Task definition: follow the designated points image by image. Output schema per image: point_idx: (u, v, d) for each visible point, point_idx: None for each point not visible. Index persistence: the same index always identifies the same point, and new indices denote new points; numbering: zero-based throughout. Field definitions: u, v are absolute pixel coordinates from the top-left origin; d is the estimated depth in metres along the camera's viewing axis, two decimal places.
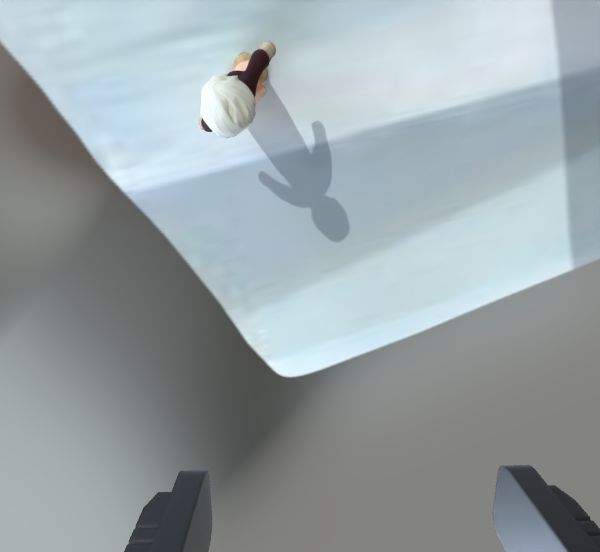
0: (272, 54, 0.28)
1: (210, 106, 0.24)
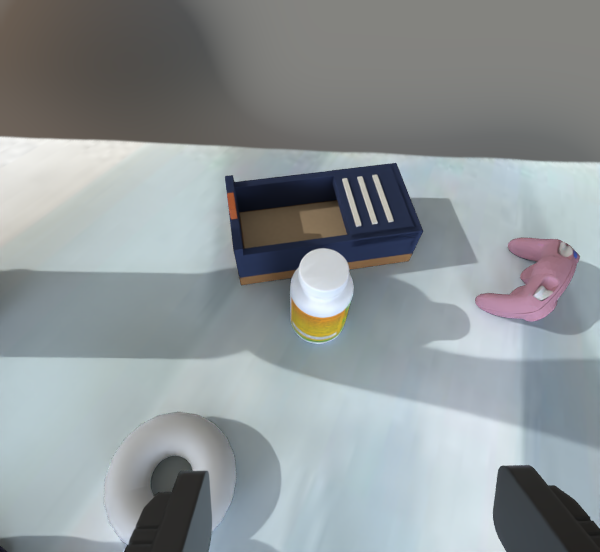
0: None
1: None
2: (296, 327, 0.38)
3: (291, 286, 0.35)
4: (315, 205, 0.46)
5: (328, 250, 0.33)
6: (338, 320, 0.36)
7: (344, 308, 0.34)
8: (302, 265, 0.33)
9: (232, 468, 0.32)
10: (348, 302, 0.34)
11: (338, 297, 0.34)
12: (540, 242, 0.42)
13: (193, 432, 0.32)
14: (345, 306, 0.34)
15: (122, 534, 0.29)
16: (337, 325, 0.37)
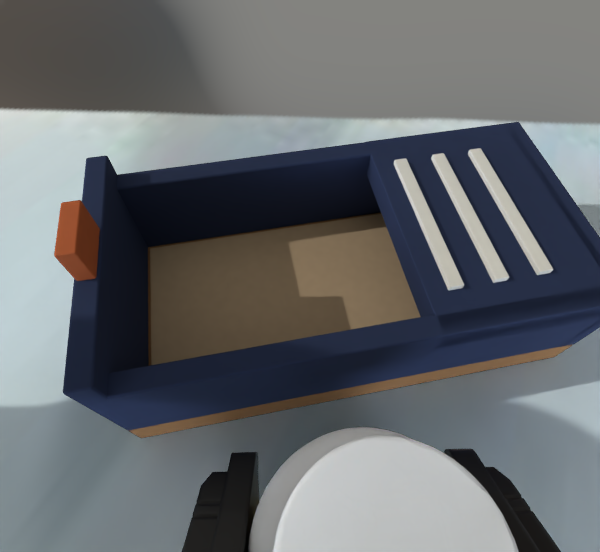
0: None
1: None
2: None
3: None
4: (326, 227, 0.20)
5: (407, 449, 0.07)
6: None
7: None
8: (290, 550, 0.07)
9: None
10: None
11: None
12: None
13: None
14: None
15: None
16: None
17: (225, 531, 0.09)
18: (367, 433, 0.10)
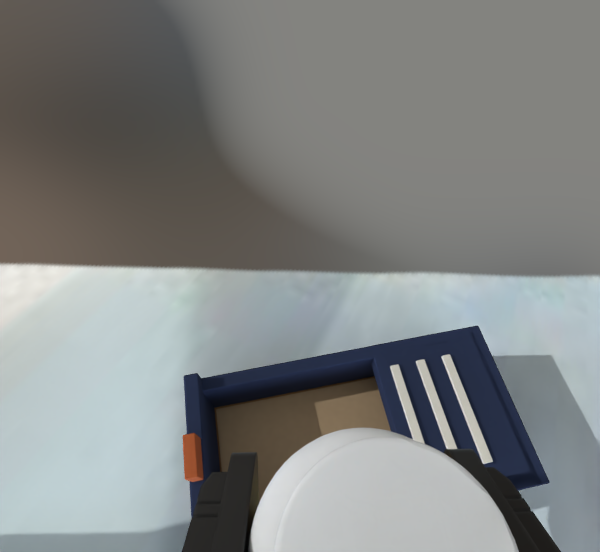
0: None
1: None
2: None
3: None
4: (341, 388, 0.28)
5: (407, 449, 0.07)
6: None
7: None
8: (290, 551, 0.07)
9: None
10: None
11: None
12: None
13: None
14: None
15: None
16: None
17: (225, 531, 0.09)
18: (367, 433, 0.10)
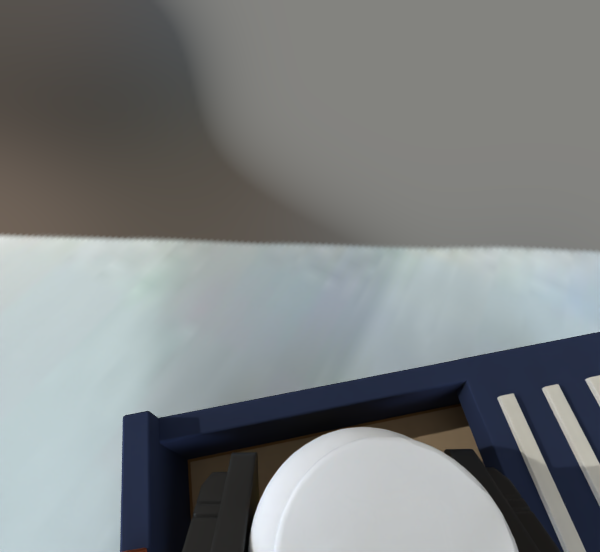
0: None
1: None
2: None
3: None
4: (397, 427, 0.17)
5: (407, 449, 0.07)
6: None
7: None
8: (289, 550, 0.07)
9: None
10: None
11: None
12: None
13: None
14: None
15: None
16: None
17: (225, 531, 0.09)
18: (368, 433, 0.10)
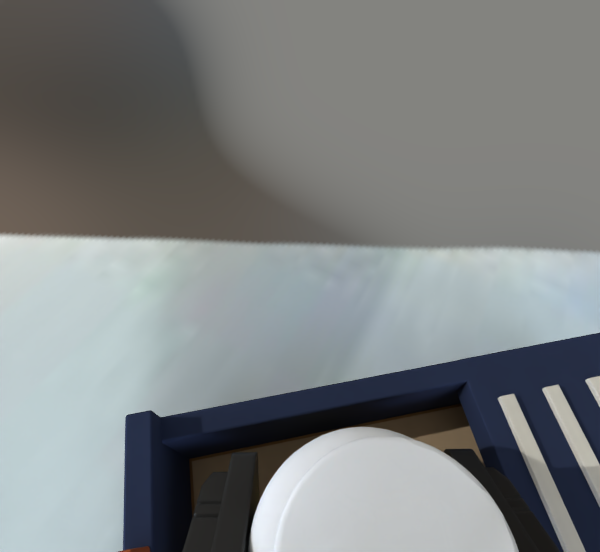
0: None
1: None
2: None
3: None
4: (397, 426, 0.17)
5: (407, 448, 0.07)
6: None
7: None
8: (290, 550, 0.07)
9: None
10: None
11: None
12: None
13: None
14: None
15: None
16: None
17: (226, 531, 0.09)
18: (367, 432, 0.10)
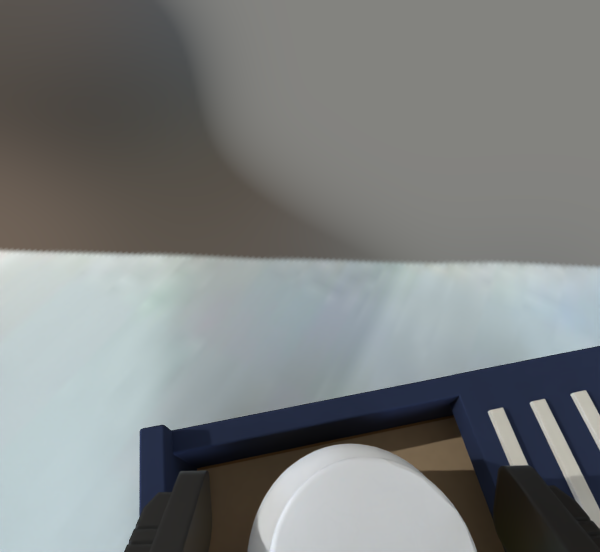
0: None
1: None
2: None
3: None
4: (394, 437, 0.18)
5: (386, 468, 0.08)
6: None
7: None
8: None
9: None
10: None
11: None
12: None
13: None
14: None
15: None
16: None
17: None
18: (355, 449, 0.11)
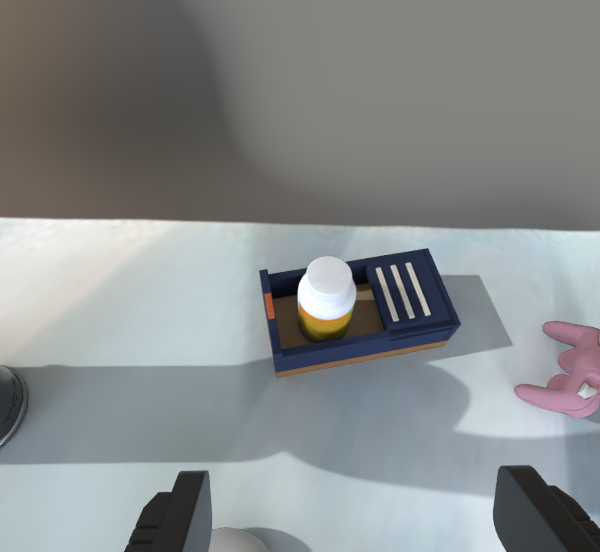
0: None
1: None
2: (303, 330, 0.41)
3: (299, 291, 0.38)
4: None
5: (332, 257, 0.36)
6: (342, 322, 0.38)
7: (348, 311, 0.37)
8: (309, 272, 0.35)
9: None
10: (351, 305, 0.37)
11: (342, 300, 0.36)
12: (577, 329, 0.41)
13: None
14: (349, 309, 0.37)
15: None
16: (341, 327, 0.39)
17: None
18: None
